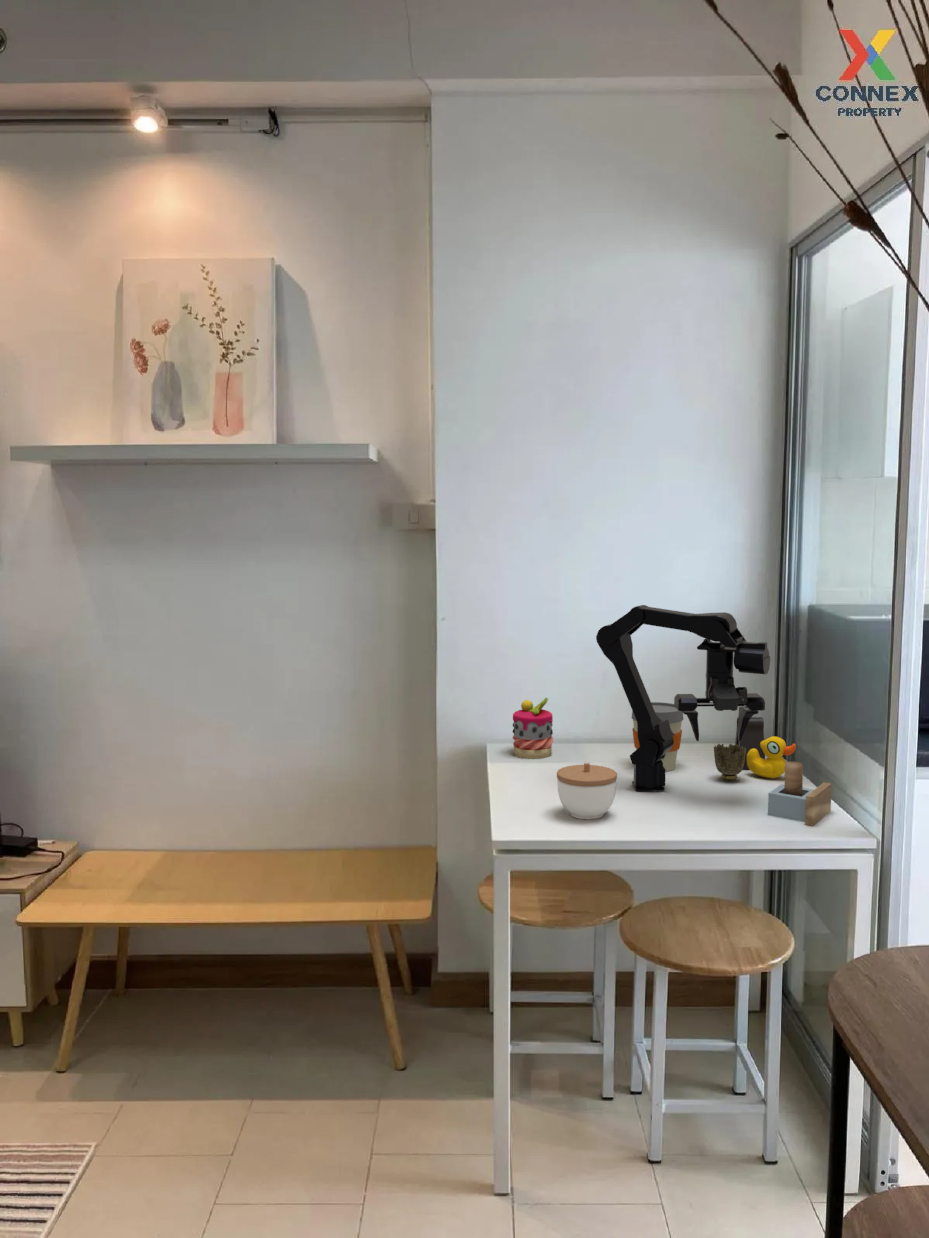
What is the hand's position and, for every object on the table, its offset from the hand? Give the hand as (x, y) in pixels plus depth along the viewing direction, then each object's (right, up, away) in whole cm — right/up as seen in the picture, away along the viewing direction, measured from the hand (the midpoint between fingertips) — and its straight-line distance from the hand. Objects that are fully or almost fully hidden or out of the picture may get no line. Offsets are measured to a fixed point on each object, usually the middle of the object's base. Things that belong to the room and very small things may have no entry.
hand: (718, 740), depth 227 cm
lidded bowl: (-30, -15, -9) cm, 35 cm away
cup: (+6, -11, +15) cm, 20 cm away
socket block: (+13, -15, -10) cm, 22 cm away
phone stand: (+15, -10, +28) cm, 33 cm away
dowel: (+13, -13, -10) cm, 21 cm away
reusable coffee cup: (-8, -10, +28) cm, 31 cm away
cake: (-38, -9, +41) cm, 57 cm away
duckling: (+16, -11, +17) cm, 26 cm away
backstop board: (+18, -15, -13) cm, 26 cm away
